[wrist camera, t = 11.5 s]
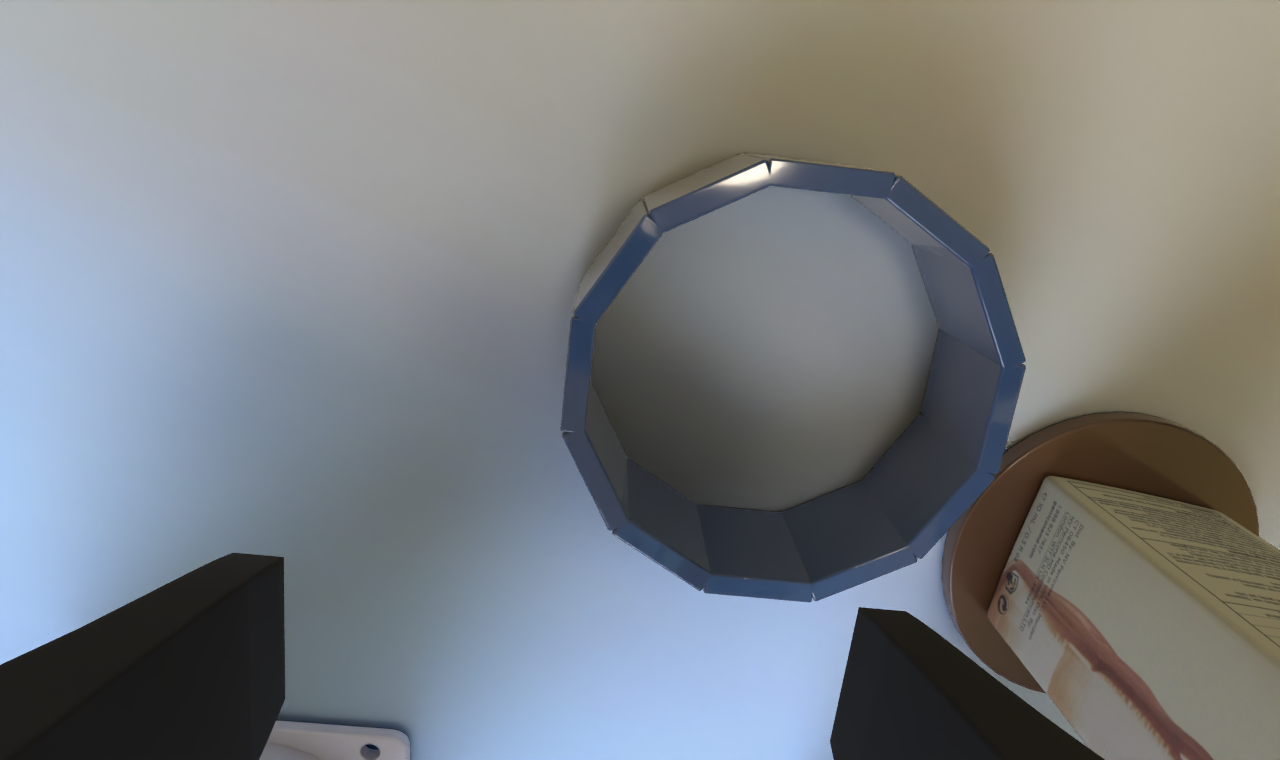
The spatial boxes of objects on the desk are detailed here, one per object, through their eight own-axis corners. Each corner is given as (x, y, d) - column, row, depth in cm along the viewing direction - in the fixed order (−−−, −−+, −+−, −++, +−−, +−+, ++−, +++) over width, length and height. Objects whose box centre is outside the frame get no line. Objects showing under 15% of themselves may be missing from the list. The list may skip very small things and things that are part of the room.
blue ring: (557, 508, 21) (546, 580, 18) (592, 134, 19) (586, 136, 15) (910, 541, 22) (962, 616, 18) (992, 181, 19) (1071, 193, 16)
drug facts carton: (978, 618, 22) (1264, 1007, 12) (1041, 466, 21) (1414, 765, 11) (1158, 657, 22) (1571, 1061, 13) (1231, 512, 21) (1750, 836, 11)
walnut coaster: (912, 671, 23) (920, 685, 22) (979, 395, 21) (989, 404, 20) (1190, 694, 23) (1205, 709, 23) (1286, 427, 21) (1305, 436, 21)
